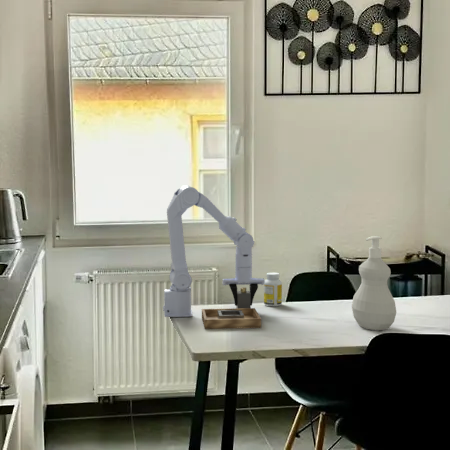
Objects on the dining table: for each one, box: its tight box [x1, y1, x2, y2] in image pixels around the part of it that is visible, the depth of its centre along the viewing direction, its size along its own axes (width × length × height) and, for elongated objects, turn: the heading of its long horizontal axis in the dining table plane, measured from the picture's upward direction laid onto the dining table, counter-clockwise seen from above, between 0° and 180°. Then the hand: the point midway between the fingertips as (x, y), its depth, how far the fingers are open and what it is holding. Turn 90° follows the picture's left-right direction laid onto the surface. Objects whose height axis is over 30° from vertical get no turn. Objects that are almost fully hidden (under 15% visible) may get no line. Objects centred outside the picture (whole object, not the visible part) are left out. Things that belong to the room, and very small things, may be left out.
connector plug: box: [235, 287, 251, 308], centre depth 275 cm, size 4×4×8 cm
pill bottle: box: [263, 271, 283, 307], centre depth 287 cm, size 6×6×12 cm
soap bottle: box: [351, 235, 397, 331], centre depth 252 cm, size 17×12×29 cm
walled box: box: [201, 307, 262, 330], centre depth 259 cm, size 18×16×3 cm
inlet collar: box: [217, 310, 244, 319], centre depth 259 cm, size 8×8×2 cm
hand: (243, 305), depth 275 cm, fingers closed on connector plug, 4 cm apart
